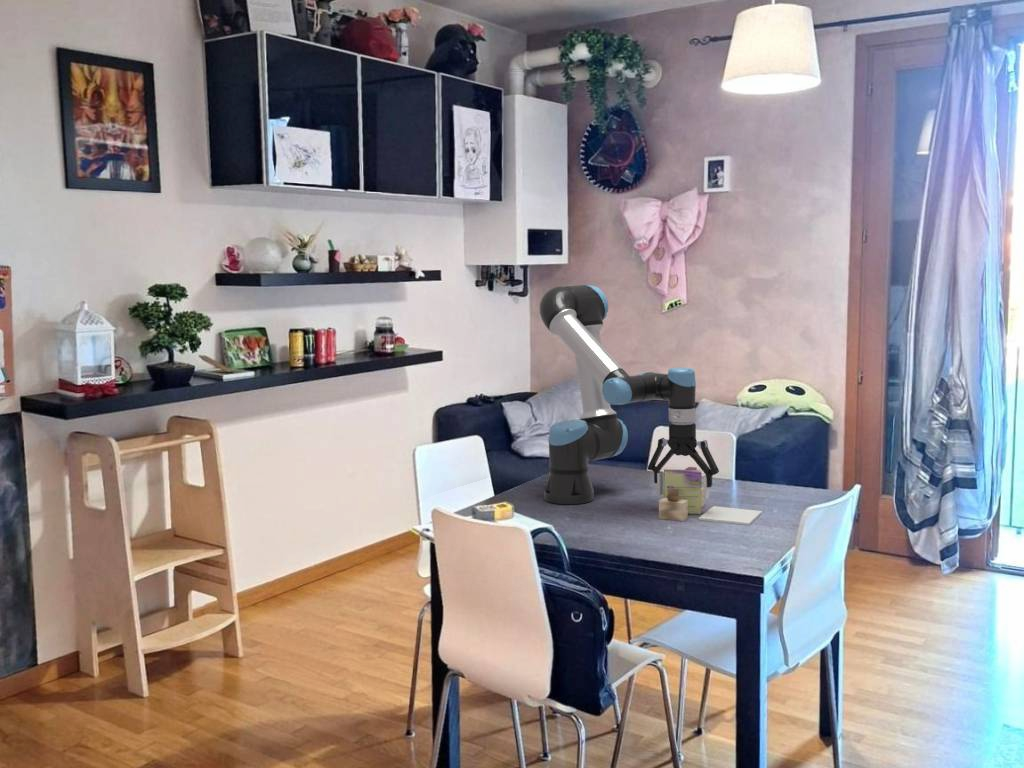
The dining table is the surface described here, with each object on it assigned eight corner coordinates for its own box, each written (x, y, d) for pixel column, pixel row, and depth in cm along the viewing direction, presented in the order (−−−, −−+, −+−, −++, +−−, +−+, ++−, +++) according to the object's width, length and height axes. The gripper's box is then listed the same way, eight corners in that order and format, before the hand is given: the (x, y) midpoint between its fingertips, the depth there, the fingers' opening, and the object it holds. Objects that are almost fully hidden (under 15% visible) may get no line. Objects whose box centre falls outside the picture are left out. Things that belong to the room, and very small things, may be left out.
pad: (698, 519, 273) (698, 517, 273) (713, 508, 285) (713, 506, 285) (749, 525, 267) (749, 523, 266) (762, 513, 279) (762, 511, 279)
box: (699, 509, 285) (699, 468, 283) (701, 514, 279) (701, 473, 278) (663, 509, 286) (663, 469, 284) (664, 514, 280) (664, 473, 279)
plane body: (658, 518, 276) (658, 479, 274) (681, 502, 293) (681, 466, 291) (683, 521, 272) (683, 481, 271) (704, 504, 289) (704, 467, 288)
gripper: (635, 422, 282) (637, 495, 284) (721, 426, 270) (722, 503, 273) (645, 418, 288) (646, 490, 291) (729, 422, 277) (730, 497, 279)
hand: (683, 496), depth 282 cm, fingers open, 13 cm apart
